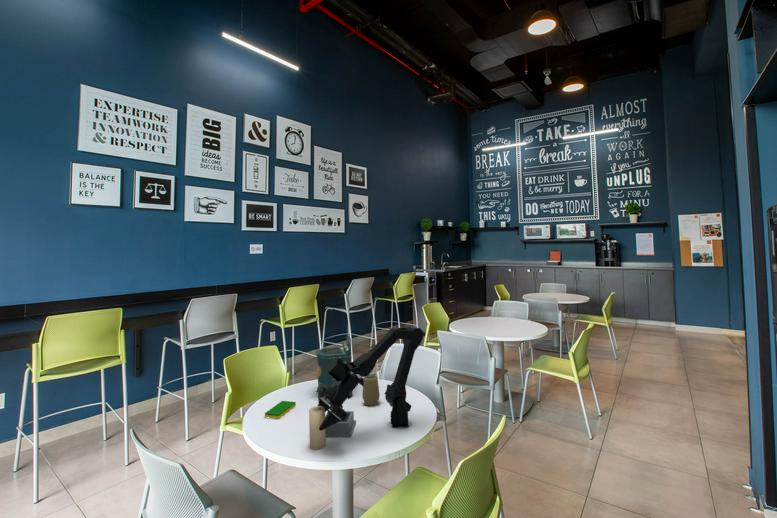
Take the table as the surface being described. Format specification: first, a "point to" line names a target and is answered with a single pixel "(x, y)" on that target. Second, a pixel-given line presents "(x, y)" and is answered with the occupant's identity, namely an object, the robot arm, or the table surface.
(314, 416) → the paper roll
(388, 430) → the table surface
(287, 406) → the dish sponge
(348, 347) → the dark green canister
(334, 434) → the square tray
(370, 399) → the squeeze bottle
